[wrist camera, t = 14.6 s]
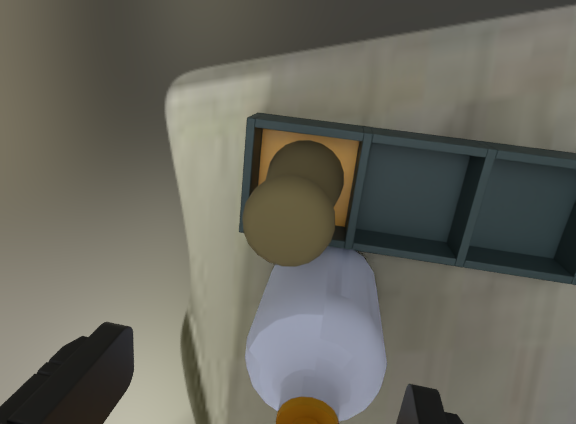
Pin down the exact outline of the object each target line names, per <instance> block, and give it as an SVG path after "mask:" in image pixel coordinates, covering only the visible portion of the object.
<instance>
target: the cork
mask: <svg viewBox="0 0 576 424" xmlns="http://www.w3.org/2000/svg"><path fill="white" fill-rule="evenodd" d="M343 186H344V171H343V168H342V165H341V162H340V160H339V159H338V158H337V156H336V155H335V154H334V152H333V151H332V150H330V149H329V148H328V147H326V146H325V145H323V144H321V143H318V142H315V141H311V140H298V141H295V142H292V143H289V144H286V145H285V146H284V147H282V148H281V149H280V150H279V151H277V152H276V154H275V155H274V157H273V158H272V160H271V161H270V164H269V168H268V172H267V176H266V180H265V181H264V182H263V183H262V184H260V185H259V186H258V187H256V188H255V189H254V191H253V192H252V194H251V195H250V197H249V198H248V200H247V201H246V203H245V207H244V212H243V217H242V220H243V231H244V234H245V237H246V239H247V241H248V244H249V245H250V246H251V248H252V249H253V250H254V251H255V252H256V253H257V255H259V256H260V257H262V258H263V259H265V260H266V261H268V262H270V263H273V264H276V265H279V266H290V267H296V266H300V265H303V264H307V263H310V262H311V261H313V260H314V259H316V258H317V257H319V256H320V255H321V254H322V253H323V251H324V250H325V249H326V248H327V246H328V245H329V244H330V243H331V240H332V237H333V234H334V231H335V211H334V208H333V207H334V206H335V204H336V202H337V200H338V198H339V197H340V194H341V192H342V189H343Z"/></svg>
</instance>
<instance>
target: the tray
mask: <svg viewBox="0 0 576 424" xmlns="http://www.w3.org/2000/svg"><path fill="white" fill-rule="evenodd" d="M298 140H311V141H315V142H318V143H321V144H323V145H325V146H326V147H328V148H329V149H330V150H332V151H333V152H334V154H335V155H336V156H337V158H338V159H339V160H340V162H341V165H342V168H343V171H344V186H343V189H342V192H341V194H340V197H339V198H338V200H337V202H336V204H335V206H334V207H333V208H334V211H335V231H334V234H333V237H332V240H331V243H330V244H329V245H328V246H331V247H337V248H344V249H350V250H356V251H363V252H369V253H375V254H382V255H388V256H395V257H401V258H407V259H414V260H420V261H426V262H433V263H439V264H446V265H452V266H454V265H455V266H458V267H465V268H471V269H477V270H484V271H490V272H497V273H503V274H509V275H516V276H522V277H528V278H535V279H541V280H548V281H554V282H560V283H567V284H573V285H576V153H569V152H561V151H554V150H546V149H538V148H530V147H522V146H514V145H507V144H499V143H491V142H483V141H475V140H467V139H460V138H452V137H444V136H436V135H428V134H421V133H413V132H405V131H397V130H389V129H381V128H374V127H366V126H358V125H350V124H342V123H334V122H327V121H319V120H311V119H303V118H295V117H287V116H280V115H272V114H264V113H256V114H254V115H252V116H250V117H248V118H247V125H246V140H245V154H244V168H243V182H242V196H241V210H240V225H239V232H241V233H244V231H243V220H242V217H243V212H244V207H245V203H246V201H247V200H248V198H249V197H250V195H251V194H252V192H253V191H254V189H255V188H256V187H258V186H259V185H260V184H262V183H263V182H264V181H265V180H266V176H267V172H268V168H269V164H270V161H271V160H272V158H273V157H274V155H275V154H276V152H277V151H279V150H280V149H281V148H282V147H284V146H285V145H286V144H289V143H292V142H295V141H298Z"/></svg>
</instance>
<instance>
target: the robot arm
mask: <svg viewBox="0 0 576 424" xmlns="http://www.w3.org/2000/svg"><path fill="white" fill-rule="evenodd" d="M133 352H134V350H133V330H132V328H131V327H129V326H124V325H119V324H114V323H109V322H104V323H103V324H101V325H100V326H99V327H98V328H97V329H96V330H95V331H94V332H93V333H92V334H91V335H90V336H89V337H85V336H81V337H79V338H78V339H76V340H74V341H72V342H70V343H68V344H67V345H65V346H63V347H62V348H61V349H60V350H59V351H58V352H57V353H56V354H55V355H54V356H53V357H52V358H51V359H50V360H49V362H46V363H45V364H44V365H43V366H42V367H41V368H40V369H39V370H38V372H37V374H34V375H33V376H32V377H31V378H30V379H29V380H28V381H26V382H25V383H24V384H23V385H22V386H21V387H20V388H19V389H18V390H17V391H16V392H15V393H14V394H13V395H12V396H11V397H10V398H9V399H8V400H7V401H5V402H4V403H3V404H2V405H1V406H0V424H103V423H104V421H105V420H106V419H107V417H108V416H109V414H110V413H111V412H112V410H113V409H114V407H115V406H116V404H117V403H118V402H119V400H120V399H121V398H122V396H123V395H124V393H125V392H126V390H127V389H128V387H129V385H130V382H131V380H132V376H133V372H134V353H133ZM396 424H464V423H463V422H462V421H461V419H460V418H459V417H458V415H457V414H452V413H447V412H444V409H443V405H442V401H441V398H440V394H439V392H438V390H437V389H432V388H427V387H422V386H418V385H413V384H408V386H407V388H406V391H405V395H404V398H403V402H402V405H401V409H400V412H399V416H398V419H397V423H396Z"/></svg>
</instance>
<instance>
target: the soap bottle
mask: <svg viewBox="0 0 576 424" xmlns="http://www.w3.org/2000/svg"><path fill="white" fill-rule="evenodd" d="M245 360H246V365H247V370H248V373H249V376H250V379H251V383H252V386H253V387H254V389H255V390H256V391H257V393H258V394H259V395H260V397H261V398H262V399H263V400H264V402H265V403H267V404H268V405H269V406H271V407H272V408H274V409H275V410H277V411H278V414H277V419H276V424H339V421H343V420H348V419H349V418H351V417H353V416H355V415H356V414H358V413H360V412H362V411H363V410H365V409H366V408H367V407H368V406H369V404H370V403H371V402H372V401H373V399H374V398H375V397H376V396H377V394H378V392H379V390H380V388H381V386H382V382H383V379H384V375H385V371H386V367H387V360H386V353H385V345H384V338H383V331H382V324H381V316H380V309H379V302H378V295H377V288H376V282H375V277H374V272H373V271H372V269H371V267H370V266H369V264H368V263H367V261H366V259H365V258H364V257H363V256H362V255H360V254H359V253H358V252H357V251H355V250H350V249H344V248H337V247H331V246H327V248H326V249H325V250H324V251H323V253H322V254H321V255H320V256H319V257H317V258H316V259H314V260H313V261H311V262H310V263H307V264H303V265H300V266H296V267H290V266H279V265H276V264H275V266H274V268H273V270H272V272H271V275H270V277H269V280H268V283H267V285H266V288H265V291H264V293H263V296H262V299H261V301H260V304H259V307H258V310H257V312H256V315H255V318H254V320H253V323H252V326H251V328H250V331H249V334H248V337H247V343H246V353H245Z"/></svg>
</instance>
